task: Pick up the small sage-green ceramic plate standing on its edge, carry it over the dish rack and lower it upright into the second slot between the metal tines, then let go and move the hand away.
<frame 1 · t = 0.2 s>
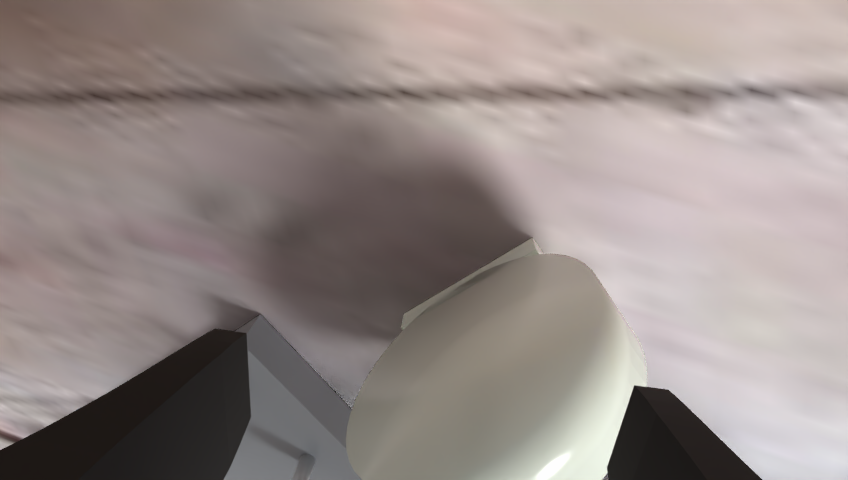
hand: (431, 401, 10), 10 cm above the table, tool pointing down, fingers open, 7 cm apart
plate: (482, 299, 20), on the table
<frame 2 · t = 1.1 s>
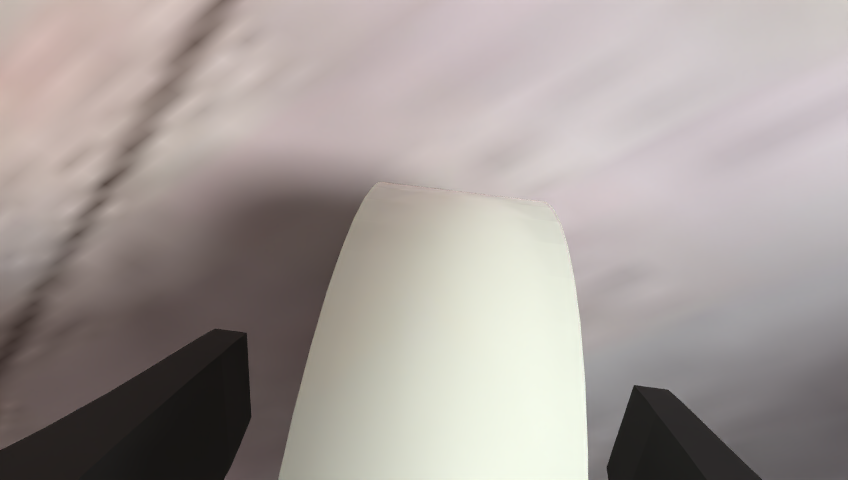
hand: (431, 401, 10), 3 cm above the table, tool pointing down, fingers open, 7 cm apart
plate: (442, 313, 12), on the table
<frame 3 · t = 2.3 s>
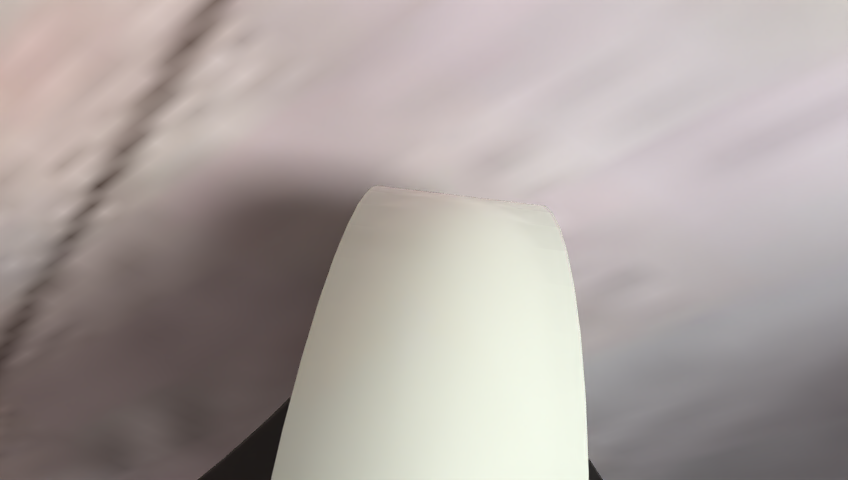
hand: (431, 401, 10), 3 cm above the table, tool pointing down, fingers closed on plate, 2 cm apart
plate: (440, 317, 12), on the table, touching gripper
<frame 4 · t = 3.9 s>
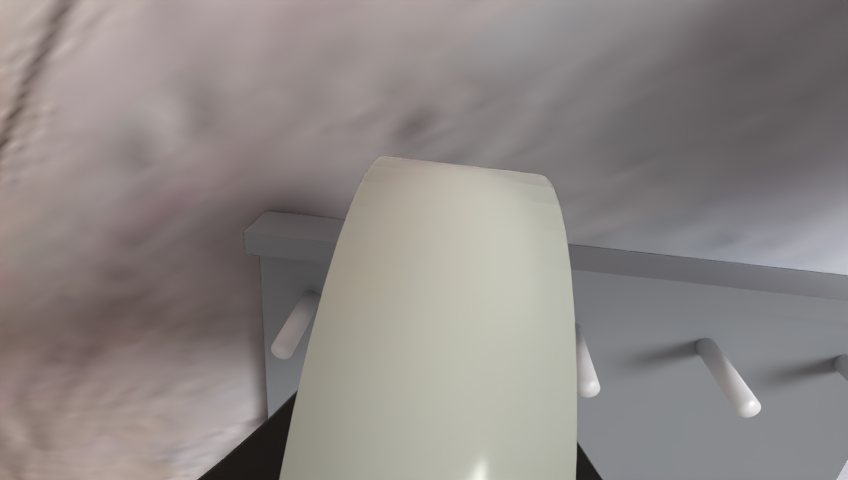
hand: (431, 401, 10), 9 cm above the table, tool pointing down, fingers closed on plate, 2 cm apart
plate: (442, 296, 13), point 6 cm above the table, touching gripper
dish rack: (547, 400, 21), on the table
when the fingers open (6 cm above the table, at t = 5.8 s): plate stays where it is, resting on dish rack.
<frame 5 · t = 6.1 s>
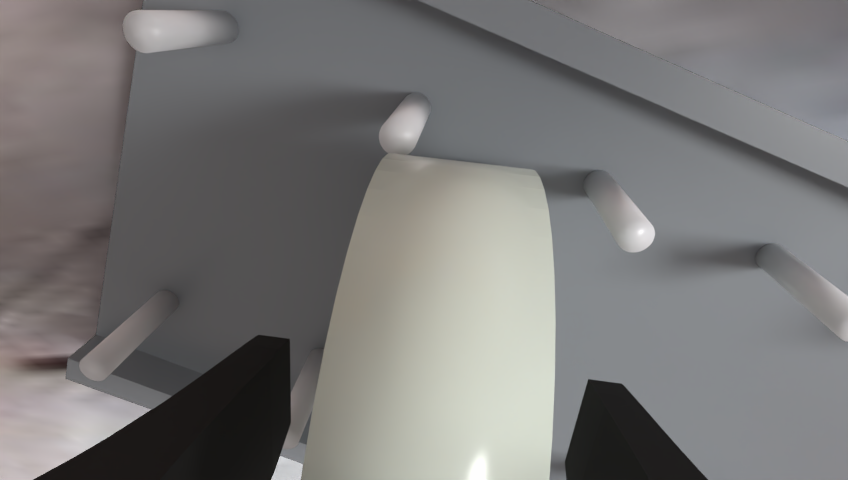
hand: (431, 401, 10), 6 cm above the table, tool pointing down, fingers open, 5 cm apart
plate: (446, 269, 14), point 1 cm above the table, touching dish rack
dish rack: (522, 297, 15), on the table
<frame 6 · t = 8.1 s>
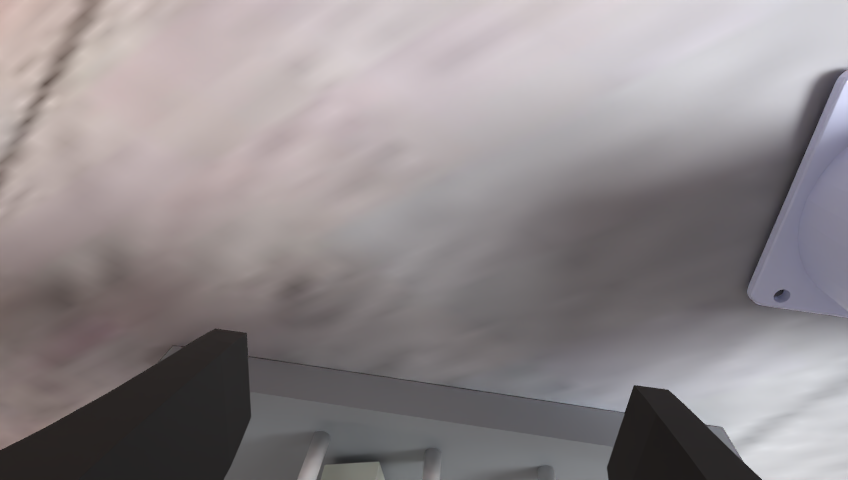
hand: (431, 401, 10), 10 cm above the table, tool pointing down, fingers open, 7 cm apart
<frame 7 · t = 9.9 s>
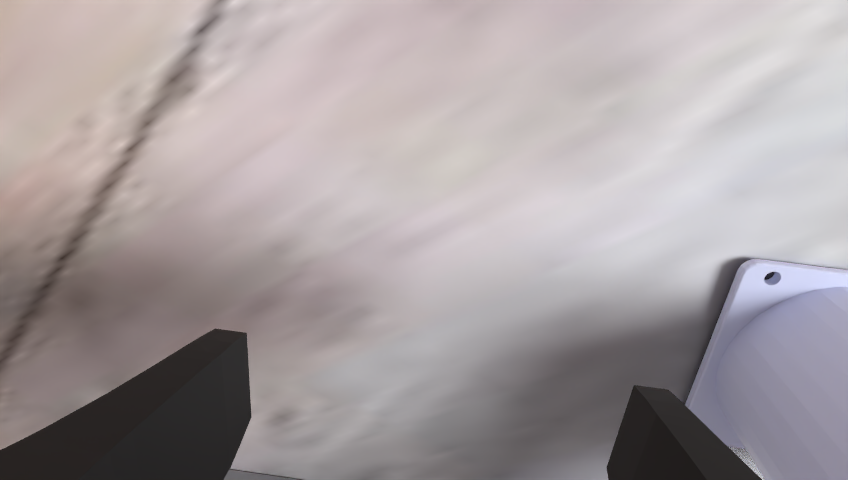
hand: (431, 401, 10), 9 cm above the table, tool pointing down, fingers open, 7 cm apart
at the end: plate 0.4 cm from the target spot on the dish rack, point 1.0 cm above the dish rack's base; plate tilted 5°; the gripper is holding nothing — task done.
